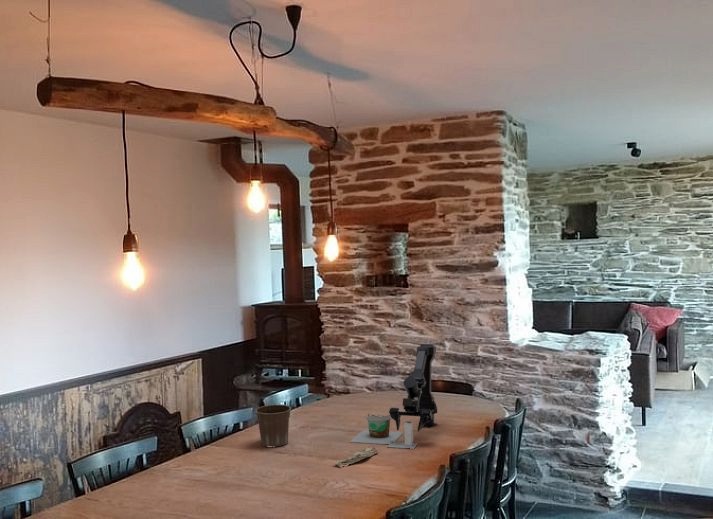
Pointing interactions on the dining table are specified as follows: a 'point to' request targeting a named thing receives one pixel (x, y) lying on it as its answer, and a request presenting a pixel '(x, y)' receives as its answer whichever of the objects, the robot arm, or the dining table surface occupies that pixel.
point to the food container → (378, 425)
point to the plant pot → (273, 424)
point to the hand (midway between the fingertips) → (407, 431)
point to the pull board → (389, 438)
